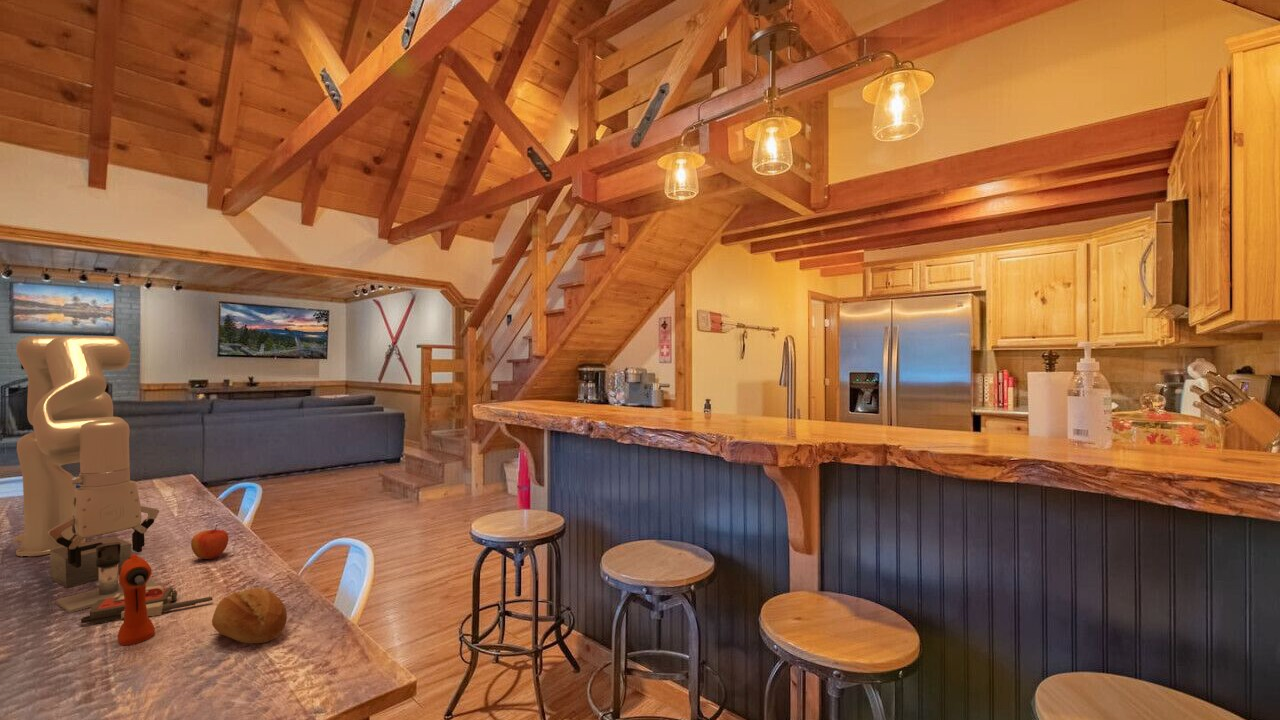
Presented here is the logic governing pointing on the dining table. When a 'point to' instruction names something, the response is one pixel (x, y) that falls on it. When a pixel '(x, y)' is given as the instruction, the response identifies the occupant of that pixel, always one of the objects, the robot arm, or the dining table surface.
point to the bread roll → (250, 616)
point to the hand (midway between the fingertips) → (107, 558)
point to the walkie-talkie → (155, 605)
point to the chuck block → (82, 562)
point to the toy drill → (135, 601)
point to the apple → (209, 543)
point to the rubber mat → (90, 598)
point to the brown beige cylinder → (108, 566)
